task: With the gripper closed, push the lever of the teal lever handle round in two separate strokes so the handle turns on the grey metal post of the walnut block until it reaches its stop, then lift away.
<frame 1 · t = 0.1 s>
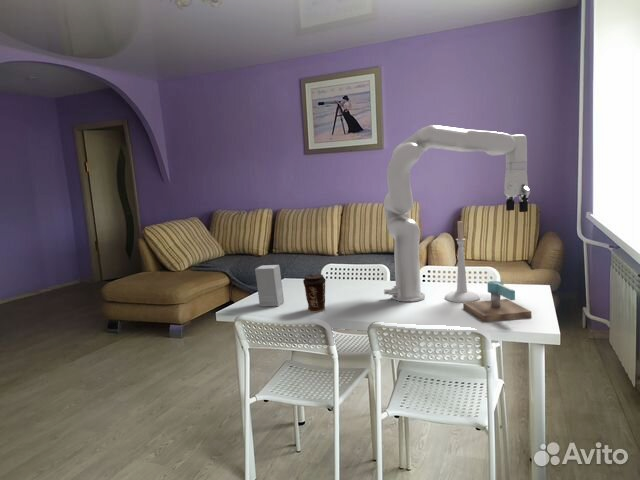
hand: (516, 211, 182), 31 cm above the table, fingers open, 9 cm apart
coffee cup: (316, 310, 173), on the table
skincare box: (271, 305, 185), on the table
candlestick: (462, 298, 176), on the table
teal lever handle: (502, 290, 150), point 9 cm above the table, hinge at 0.0°
post block: (495, 312, 156), on the table
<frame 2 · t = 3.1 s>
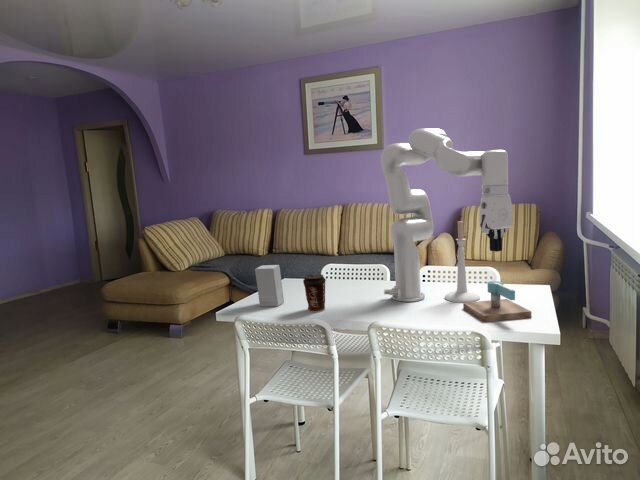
hand: (495, 250, 143), 23 cm above the table, fingers closed
nothing on the table moved.
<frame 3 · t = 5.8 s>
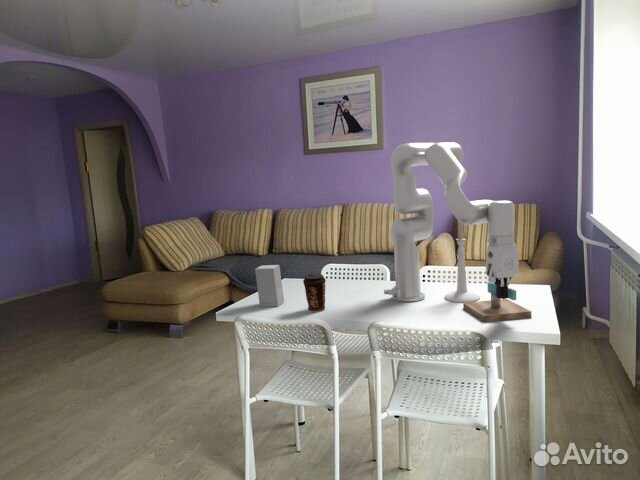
hand: (502, 297, 146), 8 cm above the table, fingers closed
teal lever handle: (502, 290, 150), point 9 cm above the table, hinge at 2.4°, touching gripper
everything else where it was.
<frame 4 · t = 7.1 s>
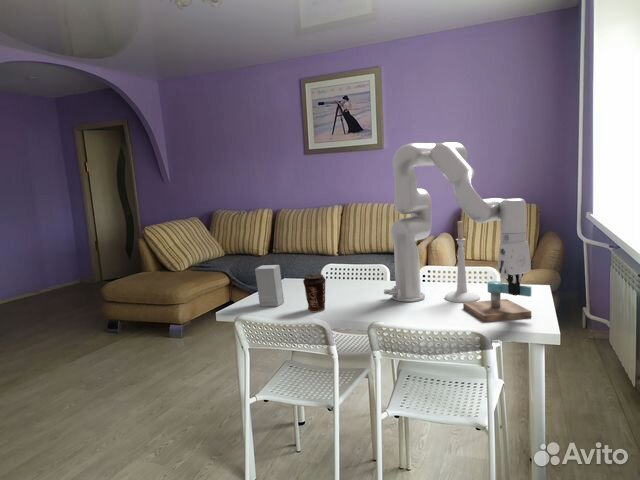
hand: (514, 294, 148), 8 cm above the table, fingers closed
teal lever handle: (508, 288, 152), point 9 cm above the table, hinge at 39.2°, touching gripper
everything else where it was.
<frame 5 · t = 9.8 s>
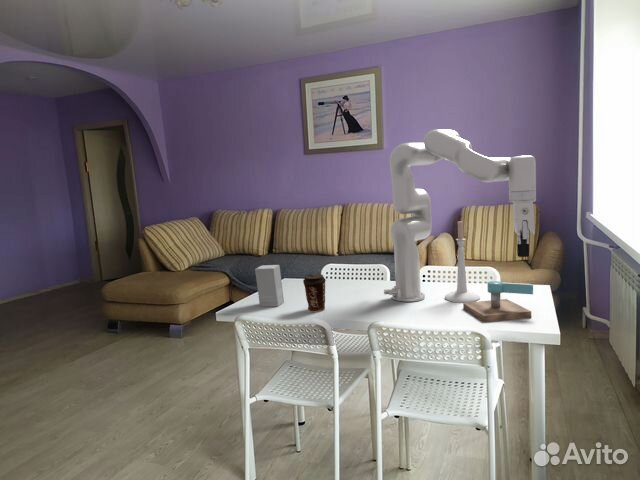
hand: (523, 256, 143), 21 cm above the table, fingers closed
teal lever handle: (509, 287, 153), point 9 cm above the table, hinge at 54.4°
everything else where it was.
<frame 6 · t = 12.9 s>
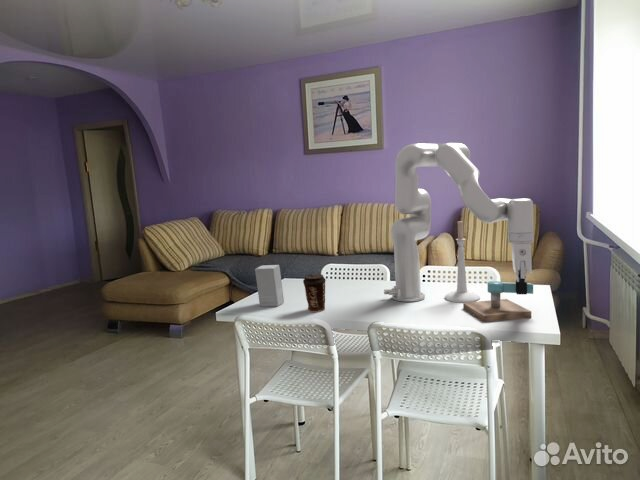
hand: (521, 293, 149), 8 cm above the table, fingers closed
teal lever handle: (509, 287, 153), point 9 cm above the table, hinge at 59.3°, touching gripper
everything else where it was.
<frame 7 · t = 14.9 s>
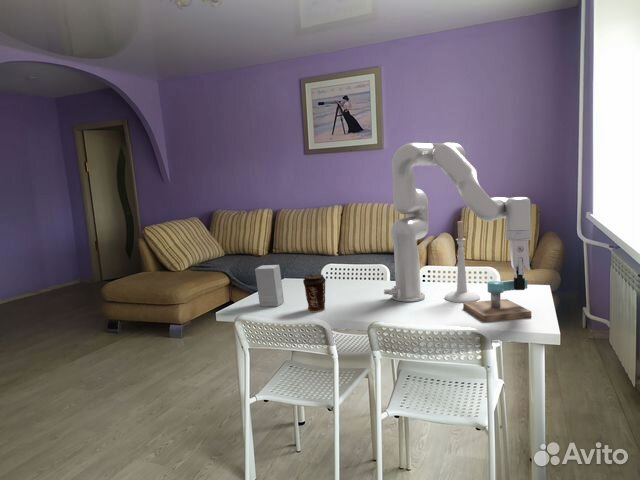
hand: (519, 289, 154), 8 cm above the table, fingers closed
teal lever handle: (507, 285, 156), point 9 cm above the table, hinge at 95.3°, touching gripper
everything else where it was.
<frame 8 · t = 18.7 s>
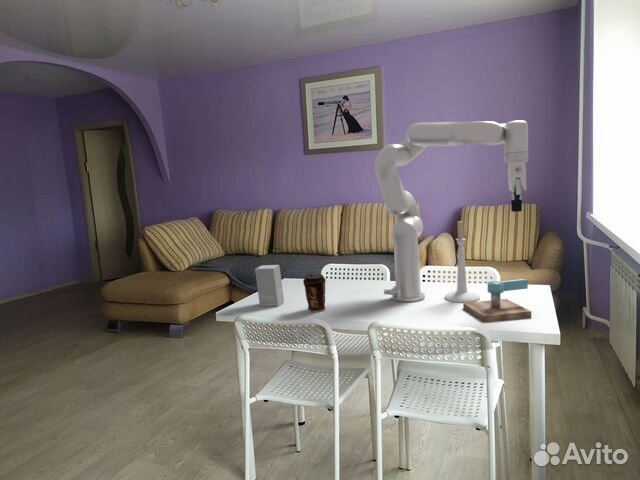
hand: (516, 211, 161), 33 cm above the table, fingers closed
teal lever handle: (507, 285, 156), point 9 cm above the table, hinge at 94.3°
everything else where it was.
at the end: teal lever handle at +94° (first picture: +0°); the gripper is holding nothing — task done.
